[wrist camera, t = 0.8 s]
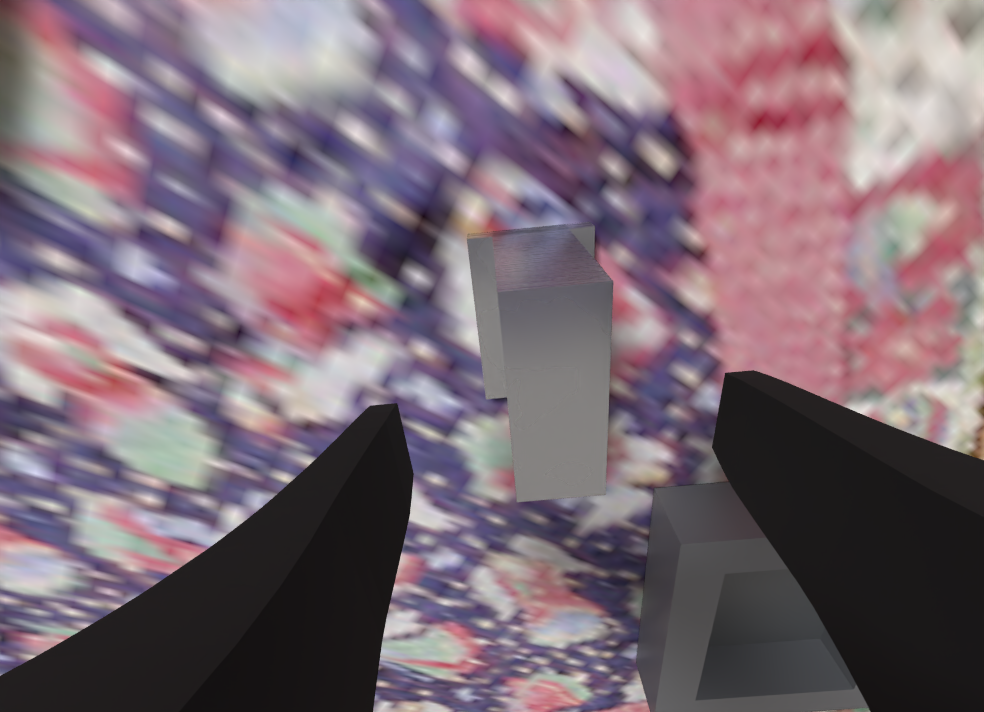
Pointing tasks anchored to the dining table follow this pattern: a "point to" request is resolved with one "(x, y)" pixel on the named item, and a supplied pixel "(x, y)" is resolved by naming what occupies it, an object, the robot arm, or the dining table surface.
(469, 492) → the dining table surface
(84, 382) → the dining table surface
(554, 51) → the dining table surface
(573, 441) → the grey block
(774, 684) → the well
